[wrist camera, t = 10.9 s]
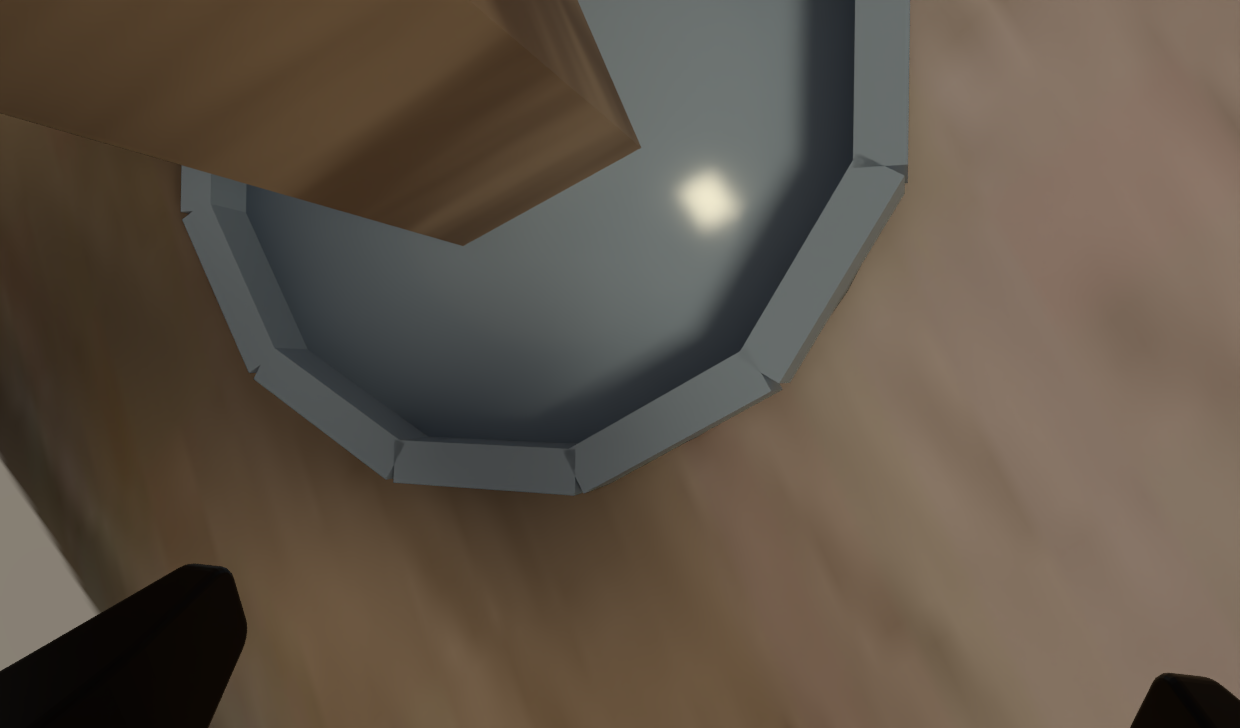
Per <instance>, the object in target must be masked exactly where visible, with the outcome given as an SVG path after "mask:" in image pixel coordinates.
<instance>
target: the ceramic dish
mask: <svg viewBox="0 0 1240 728" xmlns="http://www.w3.org/2000/svg"><path fill="white" fill-rule="evenodd" d="M578 2H579V5H580V7H581V9H582V12H583V14H584V16H585V19H586V21H587V23H588V26H589V28H590V30H591V32H592V35H593V37H594V39H595V42H596V44H597V46H598V49H599V51H600V53H601V56H602V58H603V60H604V63H605V65H606V67H607V69H608V72H609V74H610V76H611V79H612V81H613V83H614V86H615V88H616V90H617V93H618V95H619V97H620V99H621V102H622V104H623V106H624V109H625V111H626V113H627V116H628V118H629V120H630V123H631V125H632V127H633V129H634V132H635V134H636V136H637V139H638V141H639V143H640V146H641V148H640V149H638V150H636V151H635V152H633V153H631V154H629V155H627V156H625V157H624V158H622V159H620V160H618V161H616V162H615V163H613V164H611V165H609V166H607V167H606V168H604V169H602V170H600V171H598V172H596V173H595V174H593V175H591V176H589V177H587V178H586V179H584V180H582V181H580V182H578V183H577V184H575V185H573V186H571V187H569V188H567V189H566V190H564V191H562V192H560V193H558V194H557V195H555V196H553V197H551V198H549V199H548V200H546V201H544V202H542V203H540V204H538V205H537V206H535V207H533V208H531V209H529V210H528V211H526V212H524V213H522V214H520V215H519V216H517V217H515V218H513V219H511V220H510V221H508V222H506V223H504V224H502V225H500V226H499V227H497V228H495V229H493V230H491V231H490V232H488V233H486V234H484V235H482V236H481V237H479V238H477V239H475V240H473V241H471V242H470V243H468V244H466V245H464V246H461V245H457V244H454V243H451V242H447V241H444V240H440V239H437V238H433V237H430V236H426V235H423V234H419V233H416V232H412V231H409V230H405V229H402V228H398V227H395V226H391V225H388V224H384V223H381V222H377V221H374V220H370V219H367V218H363V217H360V216H357V215H353V214H350V213H346V212H343V211H339V210H336V209H332V208H329V207H325V206H322V205H318V204H315V203H311V202H308V201H304V200H301V199H297V198H294V197H290V196H287V195H283V194H280V193H276V192H273V191H269V190H266V189H263V188H259V187H256V186H252V185H249V184H245V183H242V182H238V181H235V180H231V179H228V178H224V177H221V176H217V175H214V174H210V173H207V172H203V171H200V170H196V169H193V168H189V167H186V166H182V172H181V212H184V213H188V214H189V215H187V216H186V217H185V218H184V219H182V220H183V223H184V225H185V227H186V229H187V232H188V234H189V236H190V239H191V241H192V243H193V246H194V248H195V250H196V252H197V255H198V257H199V259H200V262H201V264H202V266H203V268H204V271H205V273H206V275H207V278H208V280H209V282H210V285H211V287H212V289H213V291H214V294H215V296H216V298H217V301H218V303H219V305H220V308H221V310H222V312H223V314H224V317H225V319H226V321H227V324H228V326H229V328H230V331H231V333H232V335H233V337H234V340H235V342H236V344H237V347H238V349H239V351H240V354H241V356H242V358H243V360H244V363H245V365H246V367H247V370H248V372H249V373H256V375H255V377H254V380H256V381H257V382H258V383H260V384H261V385H262V386H263V387H265V388H266V389H267V390H269V391H270V392H271V393H273V394H274V395H275V396H277V397H278V398H279V399H281V400H282V401H283V402H285V403H286V404H287V405H288V406H290V407H291V408H292V409H294V410H295V411H296V412H298V413H299V414H300V415H302V416H303V417H304V418H306V419H307V420H308V421H309V422H311V423H312V424H313V425H315V426H316V427H317V428H319V429H320V430H321V431H323V432H324V433H325V434H327V435H328V436H329V437H331V438H332V439H333V440H334V441H336V442H337V443H338V444H340V445H341V446H342V447H344V448H345V449H346V450H348V451H349V452H350V453H352V454H353V455H354V456H355V457H357V458H358V459H359V460H361V461H362V462H363V463H365V464H366V465H367V466H369V467H370V468H371V469H373V470H374V471H375V472H377V473H378V474H379V475H380V476H382V477H383V478H384V479H386V480H387V479H392V478H394V481H393V483H406V484H420V485H434V486H448V487H462V488H476V489H490V490H504V491H518V492H532V493H546V494H560V495H574V496H575V495H578V494H580V493H587V492H589V491H592V490H595V489H597V488H600V487H603V486H605V485H608V484H610V483H612V482H614V481H616V480H618V479H619V478H621V477H623V476H625V475H627V474H629V473H630V472H632V471H634V470H636V469H638V468H640V467H641V466H643V465H645V464H647V463H649V462H651V461H652V460H654V459H656V458H658V457H660V456H662V455H663V454H665V453H667V452H669V451H671V450H673V449H674V448H676V447H678V446H680V445H682V444H684V443H685V442H688V441H690V440H692V439H694V438H696V437H698V436H700V435H701V434H703V433H704V432H706V431H708V430H709V429H711V428H713V427H715V426H717V425H718V424H720V423H722V422H724V421H726V420H728V419H730V418H731V417H733V416H735V415H737V414H739V413H741V412H742V411H744V410H746V409H748V408H750V407H752V406H753V405H755V404H757V403H759V402H761V401H763V400H764V399H766V398H768V397H770V396H772V395H774V394H775V393H777V392H779V391H781V390H783V389H782V387H781V386H780V383H790V382H791V380H792V378H793V377H794V375H795V373H796V372H797V370H798V368H799V367H800V365H801V364H802V362H803V360H804V359H805V357H806V355H807V354H808V352H809V350H810V349H811V347H812V345H813V344H814V342H815V340H816V339H817V337H818V335H819V334H820V332H821V330H822V329H823V327H824V326H825V324H826V322H827V321H828V319H829V317H830V316H831V314H832V313H833V312H834V310H835V309H836V307H837V306H838V304H839V303H840V301H841V300H842V299H843V297H844V296H845V294H846V293H847V291H848V289H849V288H850V286H851V284H852V282H853V280H854V278H855V276H856V274H857V272H858V270H859V268H860V266H861V264H862V263H863V261H864V260H865V258H866V256H867V255H868V253H869V251H870V250H871V248H872V246H873V245H874V243H875V241H876V240H877V238H878V236H879V235H880V233H881V231H882V230H883V228H884V226H885V225H886V223H887V222H888V220H889V218H890V217H891V215H892V213H893V212H894V210H895V208H896V207H897V205H898V203H899V202H900V200H901V198H902V197H903V195H904V193H905V183H908V116H909V41H910V0H578Z"/></svg>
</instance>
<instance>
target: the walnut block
mask: <svg viewBox="0 0 1240 728" xmlns="http://www.w3.org/2000/svg"><path fill="white" fill-rule="evenodd" d="M0 113H1V114H5V115H8V116H12V117H15V118H19V119H22V120H26V121H29V122H33V123H36V124H40V125H43V126H47V127H50V128H54V129H57V130H61V131H64V132H68V133H71V134H74V135H78V136H81V137H85V138H88V139H92V140H95V141H99V142H102V143H106V144H109V145H113V146H116V147H120V148H123V149H127V150H130V151H134V152H137V153H141V154H144V155H148V156H151V157H155V158H158V159H162V160H165V161H168V162H172V163H175V164H179V165H182V166H186V167H189V168H193V169H196V170H200V171H203V172H207V173H210V174H214V175H217V176H221V177H224V178H228V179H231V180H235V181H238V182H242V183H245V184H249V185H252V186H256V187H259V188H263V189H266V190H269V191H273V192H276V193H280V194H283V195H287V196H290V197H294V198H297V199H301V200H304V201H308V202H311V203H315V204H318V205H322V206H325V207H329V208H332V209H336V210H339V211H343V212H346V213H350V214H353V215H357V216H360V217H363V218H367V219H370V220H374V221H377V222H381V223H384V224H388V225H391V226H395V227H398V228H402V229H405V230H409V231H412V232H416V233H419V234H423V235H426V236H430V237H433V238H437V239H440V240H444V241H447V242H451V243H454V244H457V245H461V246H464V245H466V244H468V243H470V242H471V241H473V240H475V239H477V238H479V237H481V236H482V235H484V234H486V233H488V232H490V231H491V230H493V229H495V228H497V227H499V226H500V225H502V224H504V223H506V222H508V221H510V220H511V219H513V218H515V217H517V216H519V215H520V214H522V213H524V212H526V211H528V210H529V209H531V208H533V207H535V206H537V205H538V204H540V203H542V202H544V201H546V200H548V199H549V198H551V197H553V196H555V195H557V194H558V193H560V192H562V191H564V190H566V189H567V188H569V187H571V186H573V185H575V184H577V183H578V182H580V181H582V180H584V179H586V178H587V177H589V176H591V175H593V174H595V173H596V172H598V171H600V170H602V169H604V168H606V167H607V166H609V165H611V164H613V163H615V162H616V161H618V160H620V159H622V158H624V157H625V156H627V155H629V154H631V153H633V152H635V151H636V150H638V149H640V148H641V146H640V143H639V141H638V139H637V136H636V134H635V132H634V129H633V127H632V125H631V123H630V120H629V118H628V116H627V113H626V111H625V109H624V106H623V104H622V102H621V99H620V97H619V95H618V93H617V90H616V88H615V86H614V83H613V81H612V79H611V76H610V74H609V72H608V69H607V67H606V65H605V63H604V60H603V58H602V56H601V53H600V51H599V49H598V46H597V44H596V42H595V39H594V37H593V35H592V32H591V30H590V28H589V26H588V23H587V21H586V19H585V16H584V14H583V12H582V9H581V7H580V5H579V2H578V0H0Z"/></svg>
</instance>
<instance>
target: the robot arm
mask: <svg viewBox="0 0 1240 728" xmlns="http://www.w3.org/2000/svg"><path fill="white" fill-rule="evenodd" d="M246 635H247V622H246V618H245V614H244V611H243V608H242V604H241V601H240V598H239V594H238V591H237V587H236V584H235V581H234V578H233V575H232V573H231V572H230V571H229V570H228V569H227V568H224V567H221V566H212V565H203V564H187V565H184V566H182V567H180V568H178V569H176V570H174V571H173V572H171V573H169V574H168V575H166V576H164V577H162V578H161V579H159V580H157V581H155V582H154V583H152V584H150V585H149V586H147V587H145V588H143V589H142V590H140V591H138V592H136V593H135V594H133V595H131V596H130V597H128V598H126V599H124V600H123V601H121V602H119V603H117V604H116V605H114V606H112V607H110V608H109V609H107V610H105V611H104V612H102V613H100V614H98V615H97V616H95V617H93V618H91V619H90V620H88V621H86V622H85V623H83V624H81V625H79V626H78V627H76V628H74V629H72V630H71V631H69V632H67V633H66V634H64V635H62V636H60V637H59V638H57V639H55V640H53V641H52V642H50V643H48V644H47V645H45V646H43V647H41V648H40V649H38V650H36V651H34V652H33V653H31V654H29V655H28V656H26V657H24V658H22V659H21V660H19V661H17V662H15V663H14V664H12V665H10V666H9V667H7V668H5V669H3V670H2V671H0V728H208V727H209V725H210V723H211V720H212V718H213V716H214V714H215V711H216V709H217V707H218V704H219V702H220V700H221V698H222V695H223V693H224V691H225V688H226V686H227V684H228V682H229V679H230V677H231V675H232V672H233V670H234V668H235V666H236V663H237V661H238V659H239V656H240V654H241V652H242V649H243V647H244V644H245V640H246ZM1130 728H1240V700H1239V699H1238V698H1237V697H1235V696H1234V695H1233V694H1232V693H1231V692H1229V691H1228V690H1227V689H1226V688H1224V687H1223V686H1222V685H1220V684H1219V683H1218V682H1216V681H1214V680H1212V679H1210V678H1207V677H1201V676H1193V675H1184V674H1175V673H1163V674H1161V675H1160V676H1158V677H1157V678H1155V680H1154V681H1153V683H1152V685H1151V687H1150V689H1149V691H1148V693H1147V695H1146V697H1145V699H1144V701H1143V703H1142V705H1141V707H1140V709H1139V711H1138V713H1137V715H1136V717H1135V719H1134V721H1133V723H1132V725H1131V727H1130Z"/></svg>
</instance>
